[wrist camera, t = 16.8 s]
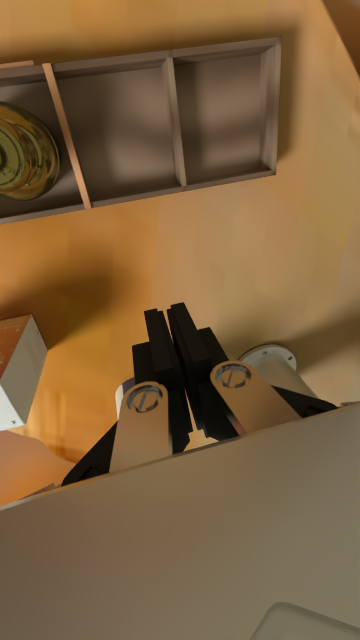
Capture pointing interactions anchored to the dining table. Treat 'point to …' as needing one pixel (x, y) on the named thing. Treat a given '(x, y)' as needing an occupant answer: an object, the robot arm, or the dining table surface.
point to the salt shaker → (26, 155)
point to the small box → (19, 368)
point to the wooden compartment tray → (151, 122)
